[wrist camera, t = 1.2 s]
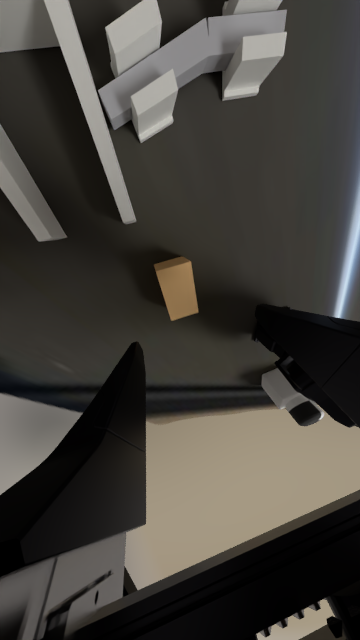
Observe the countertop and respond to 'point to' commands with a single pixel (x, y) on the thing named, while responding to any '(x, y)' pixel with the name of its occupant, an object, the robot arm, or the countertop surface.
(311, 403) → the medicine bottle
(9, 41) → the end holder
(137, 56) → the clip
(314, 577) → the robot arm
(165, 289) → the tan rectangular block
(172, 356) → the countertop surface
